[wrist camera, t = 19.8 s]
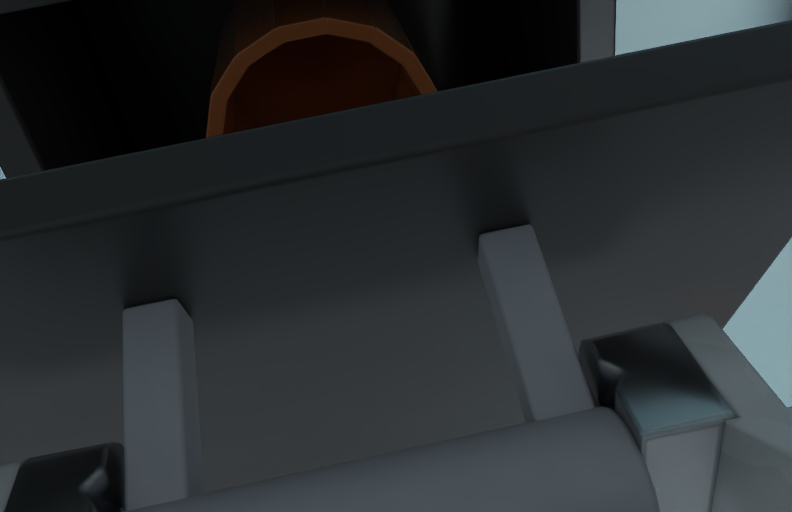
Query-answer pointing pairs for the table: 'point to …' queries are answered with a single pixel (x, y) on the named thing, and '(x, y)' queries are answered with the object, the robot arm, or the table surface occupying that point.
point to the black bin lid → (394, 286)
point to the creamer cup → (309, 61)
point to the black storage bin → (195, 60)
